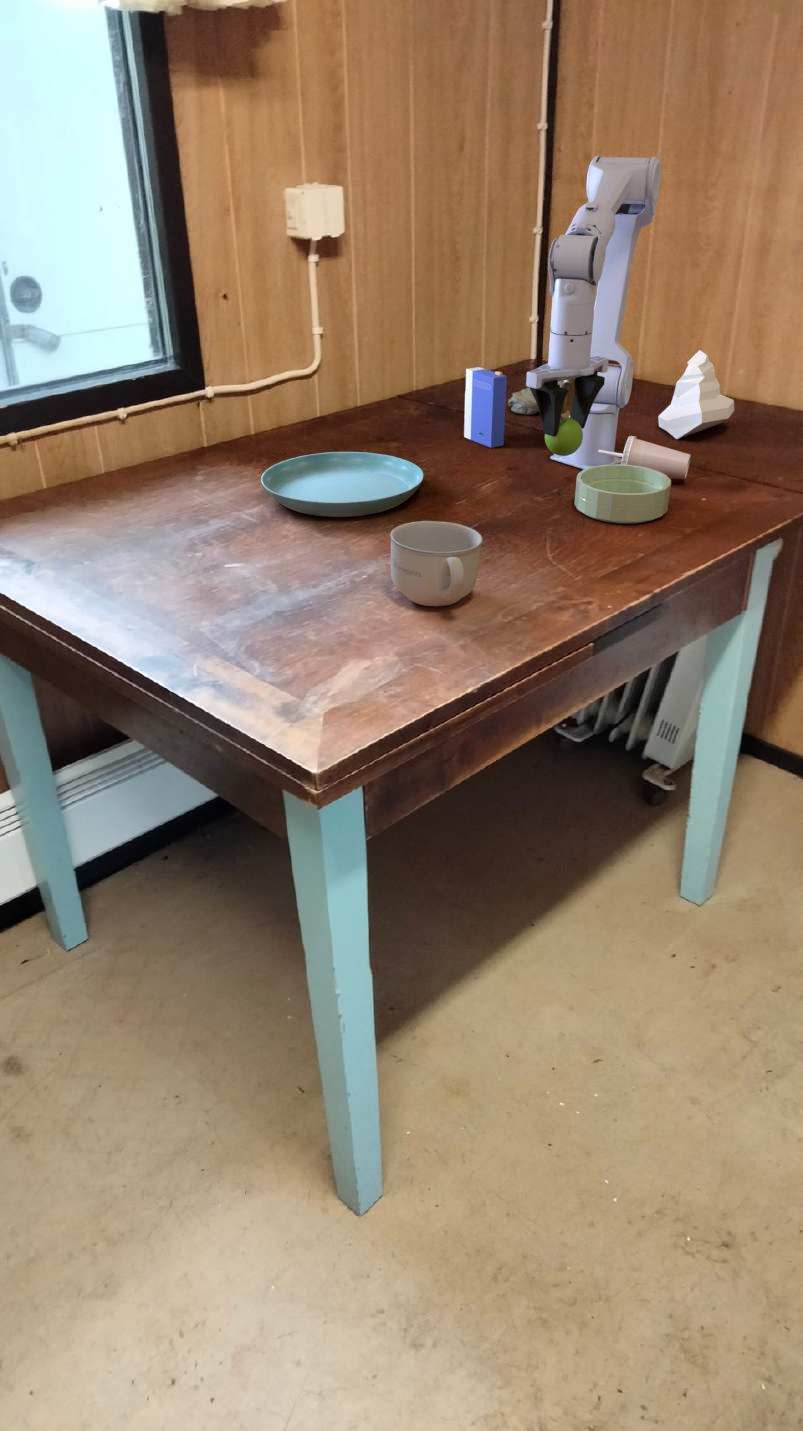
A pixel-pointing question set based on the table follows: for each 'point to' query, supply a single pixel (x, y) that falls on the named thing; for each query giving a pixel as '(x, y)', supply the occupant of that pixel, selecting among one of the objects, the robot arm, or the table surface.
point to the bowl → (622, 493)
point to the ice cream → (696, 400)
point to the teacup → (434, 561)
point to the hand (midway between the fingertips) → (563, 430)
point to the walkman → (485, 406)
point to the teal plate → (342, 483)
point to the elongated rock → (525, 401)
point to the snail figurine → (566, 427)
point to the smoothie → (653, 457)
